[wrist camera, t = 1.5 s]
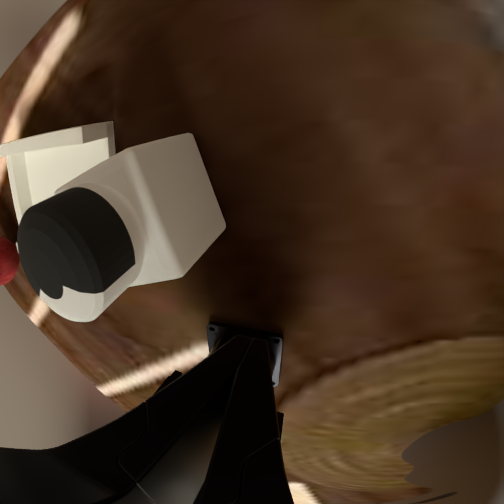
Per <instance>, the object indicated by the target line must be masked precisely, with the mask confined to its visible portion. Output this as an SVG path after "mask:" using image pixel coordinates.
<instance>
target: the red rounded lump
mask: <svg viewBox="0 0 504 504" xmlns="http://www.w3.org/2000/svg"><path fill="white" fill-rule="evenodd" d="M18 266H19V253H18V250H17V246H16V244H14V243H12V242H11V241H9V240H8V239H6V238H3V237H0V285H4V284H6V283H8V282H10V281H11V280H12V279H13V278H14V276H15V274H16V272H17V270H18Z"/></svg>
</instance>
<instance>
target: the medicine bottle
mask: <svg viewBox="0 0 504 504" xmlns="http://www.w3.org/2000/svg"><path fill="white" fill-rule="evenodd" d="M225 228H226V223H225V220H224V218H223V215H222V212H221V210H220V207H219V204H218V201H217V199H216V196H215V193H214V191H213V188H212V185H211V182H210V180H209V177H208V174H207V172H206V169H205V166H204V163H203V161H202V158H201V155H200V152H199V150H198V147H197V144H196V141H195V139H194V136H193V135H192V134H191V133H184V134H180V135H176V136H171V137H167V138H163V139H159V140H155V141H151V142H148V143H144V144H140V145H136V146H133V147H129V148H127V149H125V150H123V151H121V152H119V153H117V154H116V155H114V156H112V157H110V158H108V159H106V160H105V161H103V162H101V163H99V164H98V165H96V166H94V167H92V168H91V169H89V170H87V171H86V172H84V173H82V174H81V175H79V176H77V177H76V178H74V179H72V180H71V181H69V182H68V183H66V184H64V185H63V186H61V187H60V188H58V189H57V190H56V191H55V193H54V196H52V197H50V198H48V199H45V200H43V201H41V202H39V203H37V204H35V205H33V206H31V207H29V208H28V209H27V210H26V211H25V213H24V214H23V216H22V218H21V221H20V224H19V227H18V233H17V245H18V252H19V256H20V260H21V263H22V267H23V269H24V272H25V274H26V277H27V279H28V281H29V282H30V284H31V286H32V287H33V289H34V290H35V292H36V293H37V294H38V296H39V297H40V298H41V299H42V300H43V301H44V302H45V303H46V304H47V305H48V306H49V307H50V308H51V309H52V310H53V311H55V312H56V313H57V314H59V315H60V316H62V317H64V318H66V319H68V320H71V321H76V322H89V321H92V320H94V319H96V318H97V317H98V316H99V315H100V314H101V313H102V312H103V311H104V310H105V309H106V308H107V307H108V306H109V305H110V304H111V303H112V302H113V301H114V300H115V299H116V298H117V297H118V296H119V295H120V294H121V293H123V292H124V291H125V290H126V289H127V288H128V287H131V286H137V285H143V284H149V283H154V282H160V281H166V280H172V279H178V278H181V277H183V276H184V275H185V274H186V273H187V271H188V270H189V269H190V268H191V267H192V266H193V265H194V263H195V262H196V261H197V260H198V259H199V258H200V257H201V256H202V254H203V253H204V252H205V251H206V250H207V249H208V248H209V247H210V245H211V244H212V243H213V242H214V241H215V240H216V239H217V238H218V236H219V235H220V234H221V233H222V232H223V231H224V230H225Z"/></svg>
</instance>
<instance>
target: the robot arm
mask: <svg viewBox="0 0 504 504" xmlns="http://www.w3.org/2000/svg"><path fill="white" fill-rule="evenodd" d="M212 327H214V328H212ZM207 337H208V346H209V355H208V357H207V358H205V359H204V360H203V361H201V362H200V363H198V364H197V365H196V366H194V367H193V368H191V369H190V370H189V371H187V372H186V373H184V374H182V373H181V372H179V371H177V370H175V371H174V372H173V374H172V375H171V376H168V377H167V379H165V381H164V382H163V384H162V385H161V386H160V387H159V388H158V390H157V391H156V392H155V393H154V395H153V396H151V397H150V398H149V399H147V400H146V401H145V402H146V403H145V402H142V403H141V404H139V405H138V406H136V407H135V408H133V409H132V410H130V411H129V412H127V413H125V414H124V415H122V416H121V417H119V418H117V419H115V420H114V421H112V422H110V423H108V424H106V425H104V426H102V427H100V428H98V429H96V430H94V431H92V432H90V433H88V434H85V435H83V436H81V437H79V438H77V439H75V440H72V441H70V442H68V443H66V444H63V445H61V446H58V447H55V448H50V449H43V450H30V449H14V448H2V447H0V504H294V502H293V498H292V495H291V492H290V488H289V485H288V481H287V477H286V473H285V468H284V462H283V456H282V450H281V433H282V425H283V417H284V413H281V412H278V411H276V403H275V395H274V387H276V386H278V383H279V376H280V367H281V358H282V348H283V336H282V335H280V334H277V333H271V332H266V331H260V330H254V329H249V328H243V327H238V326H233V325H228V324H223V323H218V322H209V323H208V325H207ZM275 339H278V340H275Z"/></svg>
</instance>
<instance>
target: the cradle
mask: <svg viewBox="0 0 504 504" xmlns="http://www.w3.org/2000/svg"><path fill="white" fill-rule="evenodd" d="M114 155H116V153H115V140H114V124H113V121H108V122H101V123H94V124H88V125H82V126H77V127H71V128H66V129H61V130H56V131H51V132H47V133H42V134H38V135H33V136H29V137H25V138H21V139H18V140H14V141H11V142H8V143H5V144H1V145H0V157H5V156H6V160H7V167H8V174H9V180H10V186H11V192H12V197H13V202H14V207H15V211H16V216H17V220H18V224H20V221H21V218H22V216H23V214H24V213H25V211H26V210H27V209H28V208H29V207H31V206H33V205H35V204H37V203H39V202H41V201H43V200H45V199H48V198H50V197H52V196H54V193H55V191H56V190H57V189H58V188H60V187H61V186H63V185H64V184H66V183H68V182H69V181H71V180H72V179H74V178H76V177H77V176H79V175H81V174H82V173H84V172H86V171H87V170H89V169H91V168H92V167H94V166H96V165H98V164H99V163H101V162H103V161H105V160H106V159H108V158H110V157H112V156H114ZM16 246H17V250H18V245H17V243H16ZM18 253H19V252H18Z"/></svg>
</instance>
